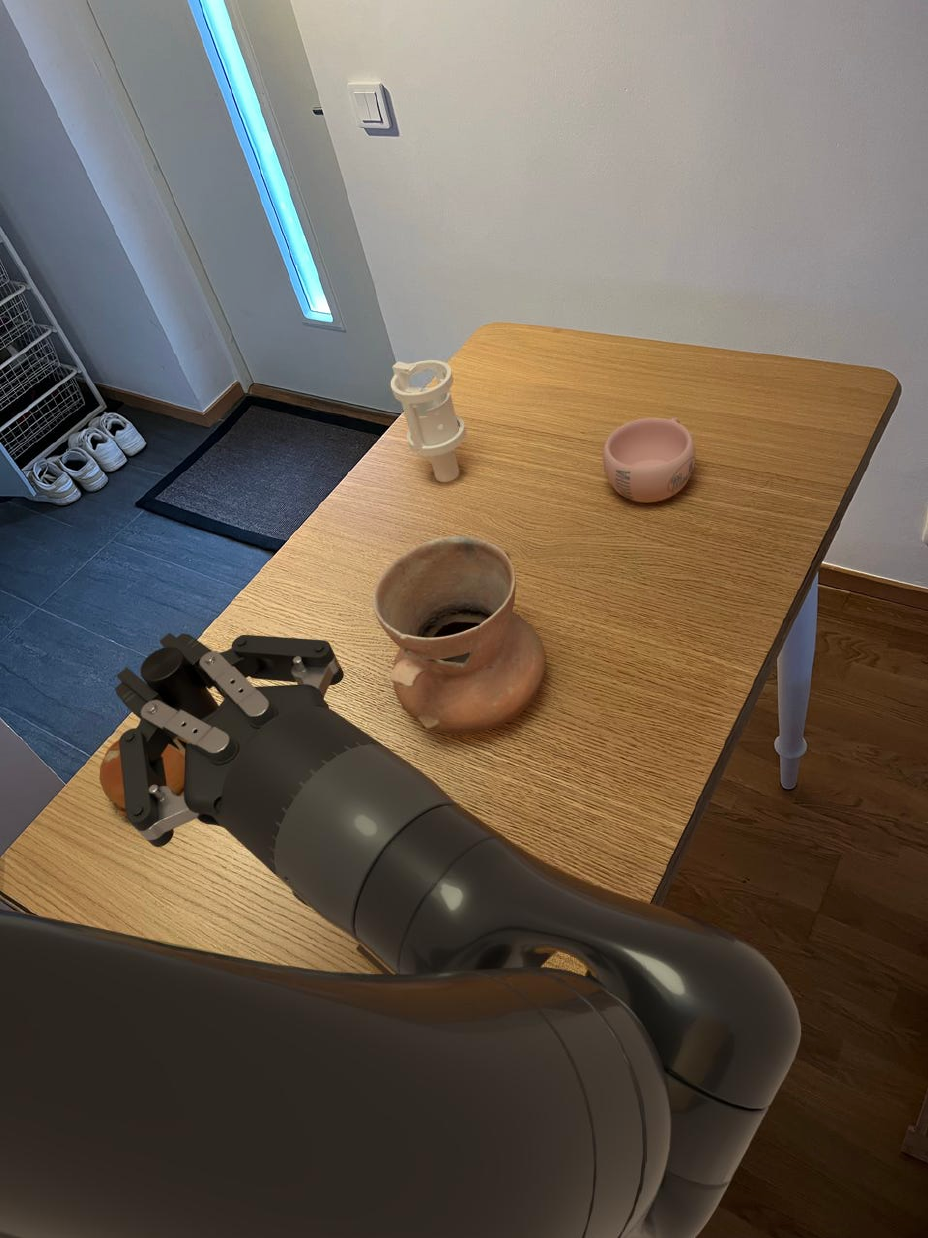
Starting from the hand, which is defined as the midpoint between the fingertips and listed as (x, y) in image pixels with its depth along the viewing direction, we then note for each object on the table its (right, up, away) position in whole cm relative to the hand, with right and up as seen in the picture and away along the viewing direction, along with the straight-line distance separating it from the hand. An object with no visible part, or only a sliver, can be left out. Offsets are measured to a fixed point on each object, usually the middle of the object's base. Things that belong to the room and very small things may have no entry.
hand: (149, 664), depth 48 cm
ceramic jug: (+19, -4, +33) cm, 38 cm away
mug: (+40, +18, +48) cm, 65 cm away
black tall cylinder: (+5, -11, +9) cm, 15 cm away
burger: (-11, -13, +33) cm, 37 cm away
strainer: (+16, +21, +56) cm, 62 cm away
